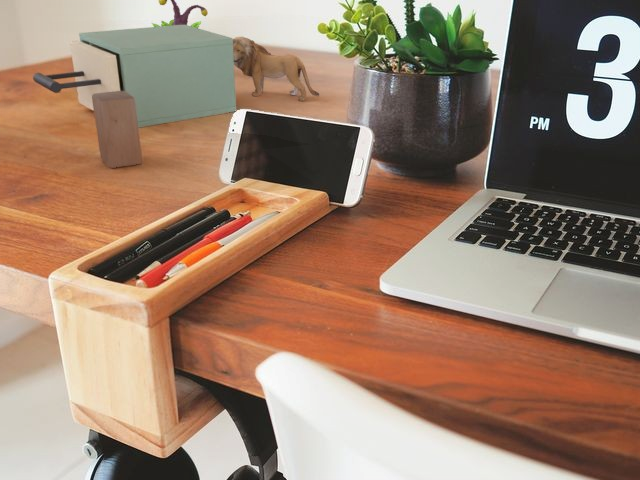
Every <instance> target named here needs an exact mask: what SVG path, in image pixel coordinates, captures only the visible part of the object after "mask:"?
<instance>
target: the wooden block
mask: <svg viewBox="0 0 640 480" xmlns="http://www.w3.org/2000/svg"><path fill="white" fill-rule="evenodd" d="M92 102H93V108H94V111H93V115H94V120H95V121H94V122H95V128H96V134H97V135H96V136H97V140H98V142H97V143H98V148H99V155H100V159H101V161H102V162H103V163H104V164H105V165H106V166H107V167H108V168H109V169H116V167H117V168H123V166H124V167H131V166H136V164H137V165H141V164H142V163H143V155H142V154H143V153H142V146H141V138H140V137H141V136H140V131H139V128H138V120H137V112H136V104H135V99H134V97H133V96H131V95H130V94H128V93H127V92H126V91H115V92H105V93H95V94H93V95H92Z"/></svg>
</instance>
